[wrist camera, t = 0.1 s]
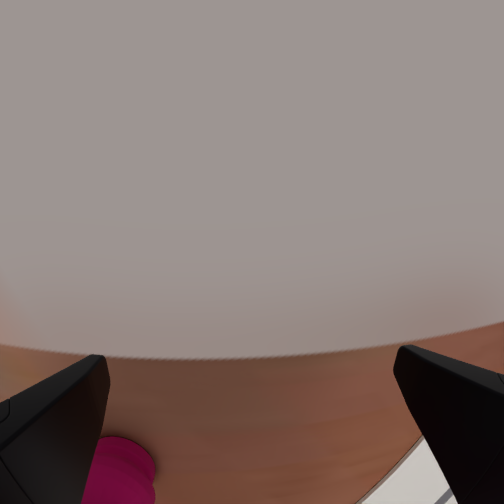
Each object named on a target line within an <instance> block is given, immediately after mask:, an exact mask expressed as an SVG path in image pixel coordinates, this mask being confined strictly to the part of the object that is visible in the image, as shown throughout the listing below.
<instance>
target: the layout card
mask: <svg viewBox="0 0 504 504" xmlns="http://www.w3.org/2000/svg"><path fill="white" fill-rule="evenodd" d="M356 504H458V503H457V501H456V499H455V497H454V495H453V493H452V491H451V489H450V487H449V485H448V483H447V481H446V479H445V477H444V475H443V473H442V471H441V469H440V467H439V465H438V463H437V461H436V459H435V457H434V455H433V453H432V452H431V450H430V448H429V446H428V444H427V442H426V440H425V438H424V436H423V435H422V436H421V437H420V439H419V440H418V441H417V442H416V443H415V444H414V446H413V447H412V448H411V449H410V450H409V451H408V452H407V453H406V455H405V456H404V457H403V458H402V459H401V460H400V461H399V462H398V463H397V464H396V465H395V466H394V467H393V468H392V470H391V471H390V472H389V473H388V474H387V475H386V476H385V477H384V478H383V479H382V480H381V481H380V482H379V483H377V484H376V485H375V486H374V487H373V488H372V489H371V490H370V491H369V492H368V493H367V494H366V495H365V496H364V497H363V498H361V499H360V500H359V501H358V502H357V503H356Z"/></svg>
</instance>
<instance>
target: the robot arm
mask: <svg viewBox="0 0 504 504" xmlns="http://www.w3.org/2000/svg"><path fill="white" fill-rule="evenodd" d="M393 372H394V376H395V378H396V381H397V383H398V385H399V388H400V390H401V392H402V395H403V397H404V399H405V402H406V404H407V406H408V409H409V411H410V412H411V414H412V416H413V418H414V420H415V422H416V424H417V425H418V427H419V429H420V431H421V433H422V435H423V436H424V438H425V440H426V442H427V444H428V446H429V448H430V450H431V452H432V453H433V455H434V457H435V459H436V461H437V463H438V465H439V467H440V469H441V471H442V473H443V475H444V477H445V479H446V481H447V483H448V485H449V487H450V489H451V491H452V493H453V495H454V497H455V499H456V501H457V503H458V504H504V375H503V374H500V373H496V372H493V371H490V370H487V369H484V368H481V367H478V366H475V365H471V364H468V363H465V362H462V361H459V360H456V359H453V358H450V357H447V356H444V355H441V354H438V353H435V352H432V351H429V350H426V349H423V348H420V347H417V346H414V345H404V346H401V347H400V348H399V349H398V352H397V356H396V360H395V363H394V367H393ZM109 389H110V376H109V371H108V367H107V362H106V359H105V357H104V356H103V355H94V354H92V355H89V356H87V357H85V358H84V359H82V360H80V361H78V362H76V363H74V364H72V365H71V366H69V367H67V368H65V369H63V370H61V371H59V372H58V373H56V374H54V375H52V376H50V377H48V378H46V379H44V380H43V381H41V382H39V383H37V384H35V385H33V386H31V387H29V388H27V389H26V390H24V391H22V392H20V393H18V394H16V395H14V396H12V397H10V400H9V399H6V400H5V401H3V402H1V403H0V504H81V502H82V498H83V494H84V490H85V486H86V482H87V479H88V475H89V471H90V468H91V464H92V461H93V457H94V454H95V450H96V447H97V443H98V440H99V437H100V433H101V430H102V426H103V421H104V416H105V410H106V405H107V399H108V394H109Z"/></svg>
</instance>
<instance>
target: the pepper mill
mask: <svg viewBox="0 0 504 504" xmlns="http://www.w3.org/2000/svg"><path fill="white" fill-rule="evenodd" d="M154 476H155V465H154V462H153V460H152V458H151V457H150V455H149V454H148V453H147V452H146V451H145V450H144V449H143V448H142V447H141V446H139V445H137V444H136V443H134V442H132V441H130V440H127V439H124V438H121V437H114V436H112V437H104V438H101V439H99V440H98V443H97V447H96V450H95V454H94V457H93V461H92V464H91V468H90V471H89V475H88V479H87V482H86V486H85V490H84V494H83V498H82V502H81V504H154V502H155V491H154V488H153V486H152V484H153V480H154Z"/></svg>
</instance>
